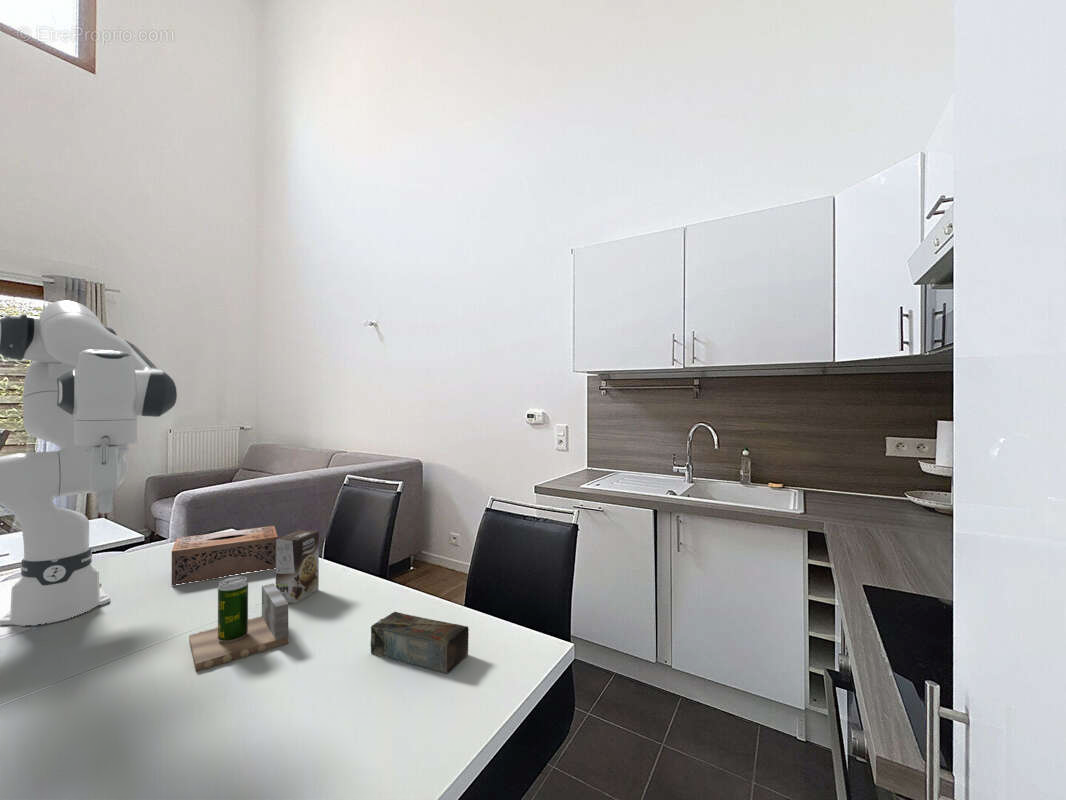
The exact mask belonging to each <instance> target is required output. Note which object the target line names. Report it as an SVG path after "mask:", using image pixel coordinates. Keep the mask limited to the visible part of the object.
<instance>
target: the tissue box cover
mask: <svg viewBox="0 0 1066 800" xmlns="http://www.w3.org/2000/svg"><path fill="white" fill-rule="evenodd" d="M278 538H279V536H278V533H277V530H276V527H275V526H274V525H270V526H263V527H254V528H247V529H239V530H231V531H230V530H229V531H221V532H215V533H206V534H199V535H190V536H183V537H176V539H175V542H174V544H173V547H172V550H171V586H172V585H176V584H182V583H189V582H195V581H202V580H207V579H213V578H219V577H224V576H229V575H235V574H241V573H246V572H254V571H260V570H267V569H273V570H275V569H274V568H276V539H278ZM267 571H268V570H267ZM219 579H220V578H219ZM213 580H214V579H213ZM202 582H203V581H202Z"/></svg>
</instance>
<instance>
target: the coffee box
mask: <svg viewBox="0 0 1066 800" xmlns="http://www.w3.org/2000/svg"><path fill="white" fill-rule="evenodd" d="M319 550H320V530H301V529H299V530H297V531H294V532H292V533H289V534H286V535H284V536H281V537H278V539H276V569H275V586H276V588H277V589H278V590H279V592H280V593H281V594H282V596H283V597H284V598H285V600H286V601H287V602H288V604H289V603H290V604H298V603H299V602H301V601H303V600H304V599H305V597H306V598H307V597H309V596H310V594H311V595H312V594H314V593H316V592H318V591H319V578H320V577H319V576H320V575H319V574H320V573H319V572H320V571H319V569H320V568H319V567H320V566H319V565H320V564H319V563H320V560H319V559H320V557H319V556H320V553H319V552H320V551H319ZM315 591H316V592H315ZM313 592H314V593H313ZM308 595H309V596H308Z"/></svg>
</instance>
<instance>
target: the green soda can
mask: <svg viewBox="0 0 1066 800" xmlns="http://www.w3.org/2000/svg"><path fill="white" fill-rule="evenodd" d="M247 580H248V578H247V577H246V576H243V575H237V576H231V577H226V578H225V579H224V578H223V580H220V581H219V585H218V587H217V627H218V639H219V641H220V642H221V643H233V642H237V641H239V640H241V639H243V638H244V637H245V636H246V634H247V632H248V619H249V582H248V581H247Z"/></svg>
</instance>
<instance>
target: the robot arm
mask: <svg viewBox="0 0 1066 800" xmlns="http://www.w3.org/2000/svg"><path fill="white" fill-rule="evenodd" d="M0 355H1V356H2V357H4V358H8V359H13V360H18V361H22V360H27V361H32V362H31V363H30V364H29V366H28V367H27V370H26V374H25V377H24V381H23V382H24V383H23V390H22V415H23V416H22V421H23V422H22V425H23V429H24V430H25V431H26V433H28V434H29V435H30V436H32V437H33V438H36V439H39V440H41V441H46V442H49V443H51V444H53V445H56V446H57V447H58V448H59V450H54V451H52V450H51V451H49V450H48V451H35V452H18V453H13V454H7V455H2V456H1V455H0V506H2V507H3V508H5V509H6V510H8V511H10V513H11V514H12V515H13V516H14V517H15V518H16V520H17V521H18V523H19V525H20V528H21V532H22V538H23V539H22V540H23V558H22V559H21V564H20V575H21V576H22V577H21V578H20V579H19V580H18V581H17V582H15V583H14V585H12V587H11V593H10V611H8V612H7V613H6V614H5V615H4V616H2V617H1V618H0V626H4V625H8V626H9V625H15V626H21V627H29V626H28V625H32V626H38V625H37V624H41V625H46V624H45V623H47V624H51V623H52V624H53V623H56V622H61V621H65V620H68V619H72V618H75V617H77V615H78V616H80V615H79V614H81V615H83V614H85V613H84V612H86V613H87V611H88V612H90V611H91V610H90V609H92V608H94V607H96V606H98V605H101V604H103V605H105V604H104V603H106V602H108V601H110V602H111V598H110V596H109V595H108V594H107V592H106V591H105V590H104V589H103V588H102V584H101V582H100V571H99V570H97V568H95V567H93V566H92V561H93V553H92V548H90V521H89V518H88V517H87V516H86V515H85V514H83V513H81V512H80V511H79V512H78V511H76V510H72V509H68V508H64V507H60V506H57V505H56V504H54V502H53V500H54V499H55V498H58V497H66V496H76V495H83V494H92V493H93V494H94V493H96V498H97V503H98V508H97V509H98V510H97V511H98V513H99V514H109V513H111V512H112V510H113V503H114V499H115V497H114V495H115V490H117V489H118V487H119V486H120V485H121V484H122V483H123V482H124V481H125V480H126V478H127V476H128V473H129V463H128V460H127V459H126V457H125V456H124V454H125V453H128V452H129V445H130V444H131V445H132V444H137V442H138V418H137V417H138V416H139V417H141V416H142V417H151V418H152V417H153V418H154V417H155V418H159V417H161V416H163V415H165V414H166V413H167V412H169V411H170V410H171V409H172V408H173V407H174V406H175V404H176V402H177V398H178V393H177V386H176V383H175V381H174V380H173V378H172V377H171V376H170V375H169V374H167V373H166V371H164V370H161V369H159V368H158V367H157V366H156V365H155V364H154V363H153V362H152V361H151V360H150V359H149V358H148V357H147V356H146V355H145V354H144V353H143V352H142V350H140V349H139V347H137V346H136V345H135V344H133V343H131V342H130V341H128V340H127V339H123V338H122V337H120V336H118V335H117V333H116V331H115V330H114V329H113V328H111V327H109V326H106V325H103V323H102V322H101V320H100V319H99V318H98V316H97V314H95V313H94V312H93V311H92V310H91V309H89V308H88V307H87V306H85V305H84V304H82V303H79V302H76V301H72V300H57V301H54V302H52V303H50V304H48V305H47V306H45V307H44V308H43V309H42V311H41V313H40V315H39V316H33V315H28V314H27V313H24V314H17V315H7V316H5V317H3V318H2V317H1V319H0ZM106 604H107V603H106ZM101 606H102V605H101ZM98 607H99V606H98ZM96 608H97V607H96ZM94 609H95V608H94ZM89 610H90V611H89ZM92 610H93V609H92ZM82 613H83V614H82ZM74 616H75V617H74ZM71 617H72V618H71ZM34 624H35V625H34ZM26 625H27V626H26Z"/></svg>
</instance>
